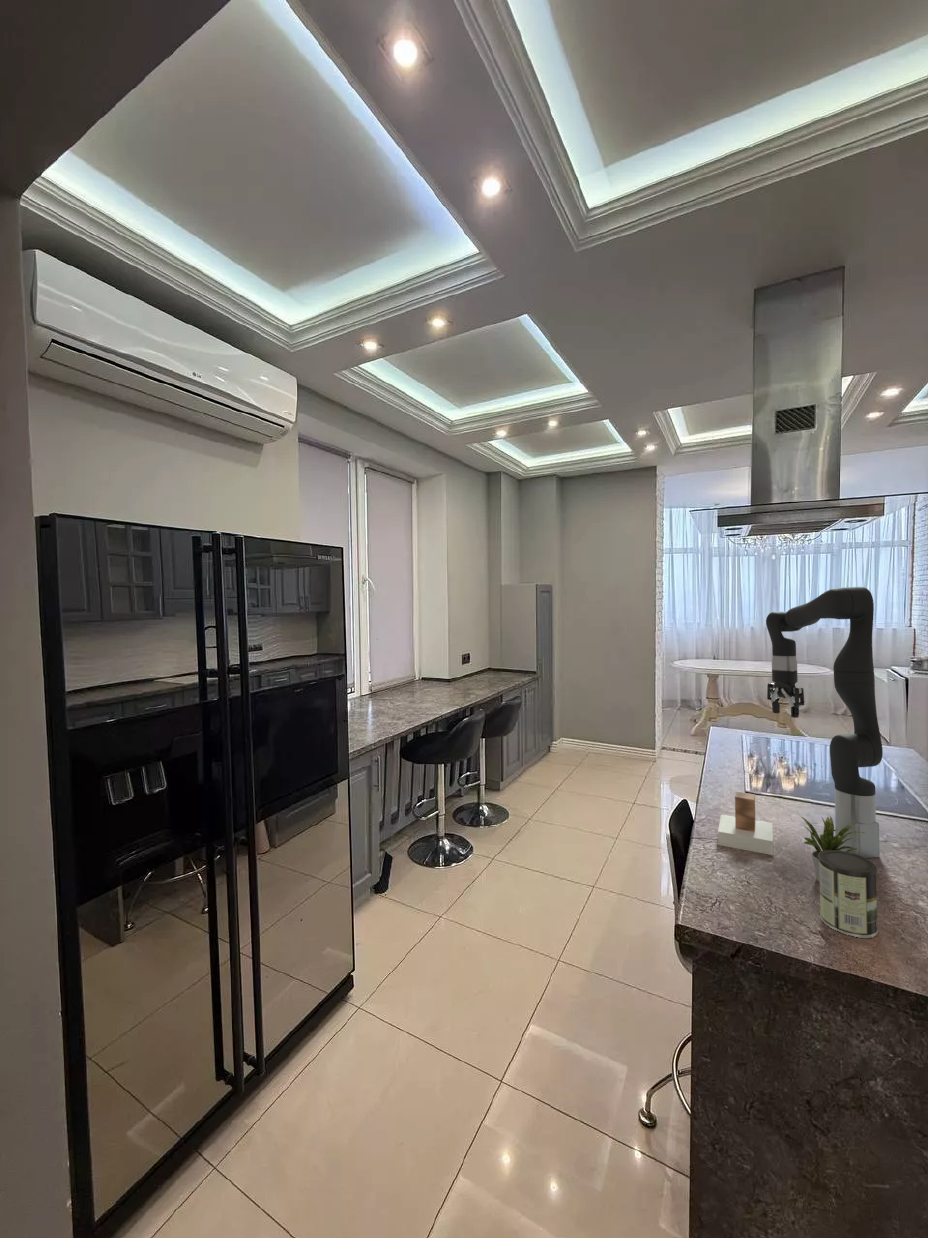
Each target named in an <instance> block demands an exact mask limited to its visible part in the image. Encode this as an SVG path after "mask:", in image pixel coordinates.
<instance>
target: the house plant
mask: <svg viewBox="0 0 928 1238" xmlns="http://www.w3.org/2000/svg"><path fill="white" fill-rule="evenodd" d="M829 815H830V814H829ZM799 817H801V819H802V820H803V821H804V822H805V823H806V825H807V826H808V827H809V828H808V827H806V826H805V825H803V827H804V828H805V829H806V830H807V831H808V832H809V834H810V838H809V837H804V839H805V840H806V841H805V842H803V843H802V845H809V846H813V847H814V849H815V850H814V851H812V852H811V859H812V862H813V868H814V872H815V873H814V874H815V878H816V880H817V882H819V883H820V878H819V859H818V854H819V853H820V852H822V851H826V850H838V851H840V850H842V849H845V848H849V849H850V850H848V851H846V852H849V851H851V850H856V849H858V848H852V847H849V846H843V847H840V846H841V845H842V844H843V843H845V841H847V840H850V839H856V838H849V839H846V840H845V841H844V842H843V841H842V840H843V839H844V838H846V837H845V836H847V835H849V834H852V833H864V832H859V831H853V832H849V833H847V834H845V833H846V832H847V831H848V830H849V829H852V828H850V827H851V826H853V825H854V824H850V825H848V826H846V827H844V828H842V830H841V831H840V832H839V833H838V834H837V836H835V835H834V834H835V831H836V830H840V829H835V823H834V820H833V818H832V816H831V815H830V816H827V818H825V819H824V818H823V817H821V819H822V822H823V825H824V827H823V833H820V835H819V834H818V831H816V828H815V827H814V826H813V825H812V823H810V821H808V820H807V819H806V818H805V817H803V816H800V815H799ZM844 834H845V835H844ZM843 835H844V836H843ZM842 836H843V837H842ZM857 840H859V839H857ZM839 847H840V848H839ZM838 848H839V849H838ZM859 850H861V849H859ZM856 851H857V850H856Z"/></svg>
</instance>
